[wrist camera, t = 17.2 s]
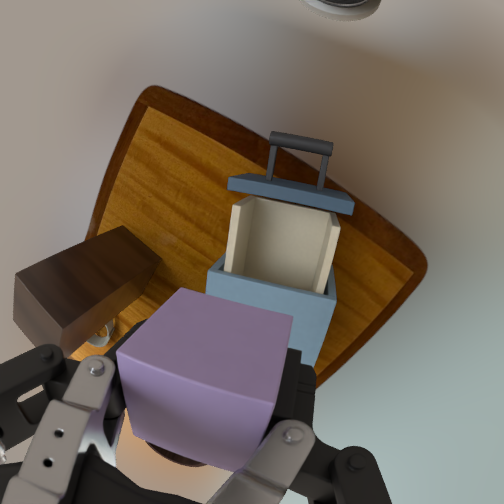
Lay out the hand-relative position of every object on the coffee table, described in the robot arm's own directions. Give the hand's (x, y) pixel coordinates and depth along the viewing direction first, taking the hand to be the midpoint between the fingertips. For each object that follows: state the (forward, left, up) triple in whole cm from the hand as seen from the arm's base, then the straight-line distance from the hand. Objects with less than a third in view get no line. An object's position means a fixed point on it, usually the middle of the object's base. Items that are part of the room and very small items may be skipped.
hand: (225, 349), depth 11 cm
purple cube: (0, 0, 0) cm, 0 cm away
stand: (+19, -15, -25) cm, 35 cm away
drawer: (-1, 0, -24) cm, 24 cm away
